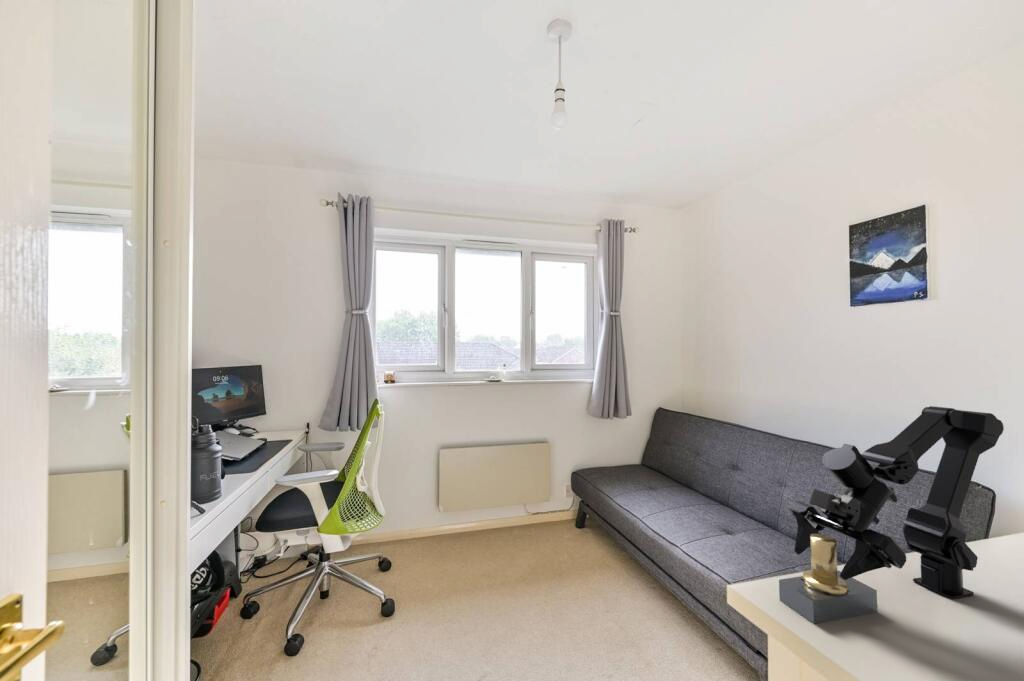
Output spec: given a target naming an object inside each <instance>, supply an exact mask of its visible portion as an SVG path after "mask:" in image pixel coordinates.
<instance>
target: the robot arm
mask: <svg viewBox="0 0 1024 681" xmlns="http://www.w3.org/2000/svg"><path fill="white" fill-rule="evenodd" d="M920 413H921V414H919V416H918V417H917V418H916V419H914V420H913V421H912V422H911V423H910V424H908V425H907V426H906V427H905V428H904V429H903V430H902V431H901V432H899V433H898V434H897V435H896V436H895V437H894V438H893V439H891V440H890V441H887V442H882V443H877V444H874V445H873V446H871V447H870V448H868V449H865V450H864V451H863V452H862V453H861V452H860V451H859V449H858V447H856V445H853V444H849V443H848V444H847V443H843V444H842V446H841V447H836V448H833V449H831V450H829V451H827V452H825V453H824V454H823V455H822V460H821V461H822V464H823V466H824V467H825V468H826V469H827V471H828V472H830V473H831V474H832V475H833V477H834V478H835V479H836V480H837V482H839V483H840V484H841V485H842V486H843V487H846V490H845V491H844V493H843V494H842V493H838V492H837V493H835V494H831V493H828V492H825V491H822V490H821V489H816V488H813V490H812V492H811V495H810V499H809V502H808V504H807V503H804V502H802V501H799V500H796V501H793V502H792V503H791V504H790V506H789V507H788V508H787V509H788V510H789V511H790V512H791V514H792V516H793V518H795V520H796V525H797V531H796V532H797V533H796V538H795V544H794V550H793V551H794V553H795V554H796V555H798V556H799V555H801V554H802V553H803V552H805V551H806V550H807V549H808V548H809V547H811V544H810V535H811V534H821V533H820V532H821V531H824V529H827V530H829V531H832V532H834V533H836V534H838V535H841V536H843V537H846V538H848V539H850V540H853V541H855V542H854V543H855V544H854V545H855V546H854V551H853V553H852V555H851V556H850V557H849V559H848V560H847V562H846V563H845V565H844V566H843V568H841V569H842V570H841V571H840V572H841V574H840V577H841V578H842V579H844V580H847V579H849V578H854V577H857V576H859V575H862V574H865V573H867V572H870V571H875V570H877V569H883V568H887V569H892V567H895V568H898V569H902V568H903V567H904V566H905V564H906V562H907V555H906V553H905V552H904V550H902V548H901V547H900V546H899V545H898V544H897V542H896V541H895V540H894V539H893V538H892V537H891V536H890V535H889V536H888V535H886V534H883V533H881V532H878V531H876V530H874V529H871V528H869V527H870V526H871V525H872V524H874V525H878V524H879V523H880V521H881V520H880V519H879V518H878V515H879V512H880V511H881V510H882V509H883V507H884V505H885V504H886V502H887V501H889V502H892V503H897V502H898V497H897V495H896V494H895V491H894V487H891V486H889V485H887V484H886V483H885V482H884V481H886V482H890V483H893V484H897V485H901V486H902V485H903V486H905V485H907V484H908V483H910V482H911V481H912V480H913V478H914V477H915V475H916V474H917V473H918V472H919V470H920V468H919V464H918V461H919V460H920V459H921V457H922V456H924V455H925V454H926V453H927V452H928V451H929V450H930V449H931V448H933V446H935V444H936V443H938V441H940V440H941V439H942V440H943V441H944V444H945V445H944V449H943V451H942V454H941V457H940V460H939V464H938V465H937V469H936V472H935V475H934V477H933V480H932V483H931V487H930V489H929V492H928V496H927V499H926V501H925V503H924V505H922V506H920V507H918V508H915V507H910V508H909V509H908V510H907V515H906V518H905V519H904V521H903V523H902V524H903V527H902V533H903V534H902V535H903V536H904V539H905V542H906V545H907V548H908V550H910V551H911V552H912V551H913V552H916V553H918V554H920V577H913V579H912V581H913V582H914V583H915V584H919V585H920V586H921V587H924V586H925V588H926V587H927V589H929V590H930V591H933V592H936V593H937V594H940V595H941V596H944V597H946V598H948V599H953V600H955V599H958V598H963V597H964V598H966V597H970V596H974V592H973V591H972V590H970V589H967V588H964V578H963V570H965V571H972V572H973V571H974V568H976V567H977V564H978V559H979V558H978V556H977V555H976V554H975V552H974V551H973V550H972V549H971V548H970V547H969V546H968V545H967V543H966V538H967V533H966V531H965V529H964V526H963V525H962V522H961V521H960V515H961V512H962V508H963V505H964V503H965V500H966V498H967V493H968V491H969V487H970V484H971V481H972V479H973V476H974V473H975V472H974V471H975V469H976V466H977V464H978V461H979V457H980V455H982V454H983V453H985V452H987V451H988V450H990V449H992V448H994V447H995V446H996V444H997V442H998V440H999V438H1000V436H1001V435H1002V434H1003V433H1004V427H1005V426H1004V423H1003V422H1002V420H1000V419H999V418H998V417H997V416H996V415H994V414H993V413H990V412H982V411H980V412H979V411H971V410H962V409H955V408H952V407H943V406H932V405H931V406H924V407H923V409H922V410H921V412H920ZM812 505H813V506H812ZM814 506H817V507H819V508H820V512H821V513H822V514H824V515H825V516H827V517H824V516H822V515H821V513H819V511H818V510H817V509H816V508H815V507H814Z"/></svg>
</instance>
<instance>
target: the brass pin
mask: <svg viewBox="0 0 1024 681" xmlns="http://www.w3.org/2000/svg"><path fill="white" fill-rule="evenodd" d="M810 544H811V545H810V565H811V566H810V570H805V571H804V572H803V573H802V576H803V581H804V582H805V584H806V585H808V586H809V587H811V588H812V589H814V590H817V591H819V592H822V593H824V594H826V595H834V596H844V595H846V594H847V593H848V586H847V584H846V583H845V582H844V581H843V580H841V579H840V578H838V571H839V570H838V553H837V540H836V539H835V538H834V537H832V536H829V535H826V534H821V533H820V534H811V535H810Z"/></svg>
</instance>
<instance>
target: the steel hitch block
mask: <svg viewBox="0 0 1024 681" xmlns="http://www.w3.org/2000/svg"><path fill="white" fill-rule="evenodd" d="M837 571H838V578H840V579H841V580H843V581H844V582H845V583H846V584H847V586H848V593H847V594H846V595H844V596H834V595H826V594H824V593H822V592H819V591H817V590H814V589H812V588H811V587H809V586H808V585H806V584H805V582H804V581H803V575H801V576H796V577H787V578H781V579H778V589H779V590H778V592H779V597H778V598H779V601H780V602H782V603H783V604H784V605H786V606H787V607H788V608H790V609H791V610H793V611H795V612H796V613H797V614H799V615H800V616H801V617H804V618H805V619H806V620H808V621H809V622H810V623H812V624H819V623H826V622H831V621H836V620H842V619H846V618H847V619H848V618H851V617H857V616H863V615H867V614H874V613H878V595H877V594H878V592H877V591H878V590H876V589H875V588H873V587H871V586H869V585H867V584H865V583H863V582H862V581H859V580H857V579H856V578H854V577H852V578H849V579H847V580H844V579H842V578H841V577H840V574H841V572H842V571H840V570H837ZM873 612H874V613H873Z"/></svg>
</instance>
